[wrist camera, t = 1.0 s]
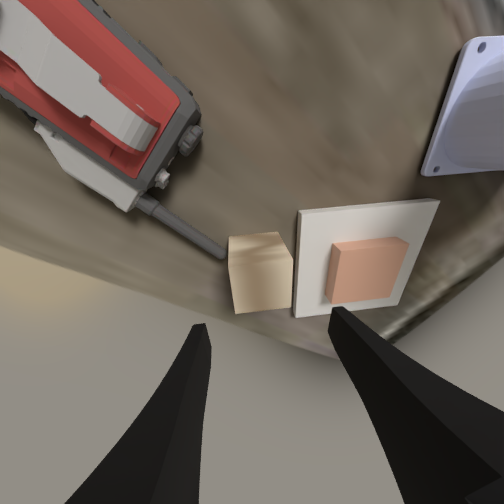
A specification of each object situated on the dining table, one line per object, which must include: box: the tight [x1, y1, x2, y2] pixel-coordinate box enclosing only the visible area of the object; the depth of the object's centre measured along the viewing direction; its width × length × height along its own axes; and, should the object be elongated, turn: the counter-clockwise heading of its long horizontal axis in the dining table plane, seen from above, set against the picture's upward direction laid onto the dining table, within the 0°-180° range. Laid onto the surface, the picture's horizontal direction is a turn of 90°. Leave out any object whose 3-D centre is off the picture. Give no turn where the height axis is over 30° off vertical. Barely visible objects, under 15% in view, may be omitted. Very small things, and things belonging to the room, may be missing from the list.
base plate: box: [293, 198, 440, 318], centre depth 18 cm, size 12×12×2 cm
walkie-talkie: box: [0, 0, 227, 259], centre depth 11 cm, size 9×4×20 cm
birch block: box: [228, 232, 293, 314], centre depth 16 cm, size 4×4×5 cm
